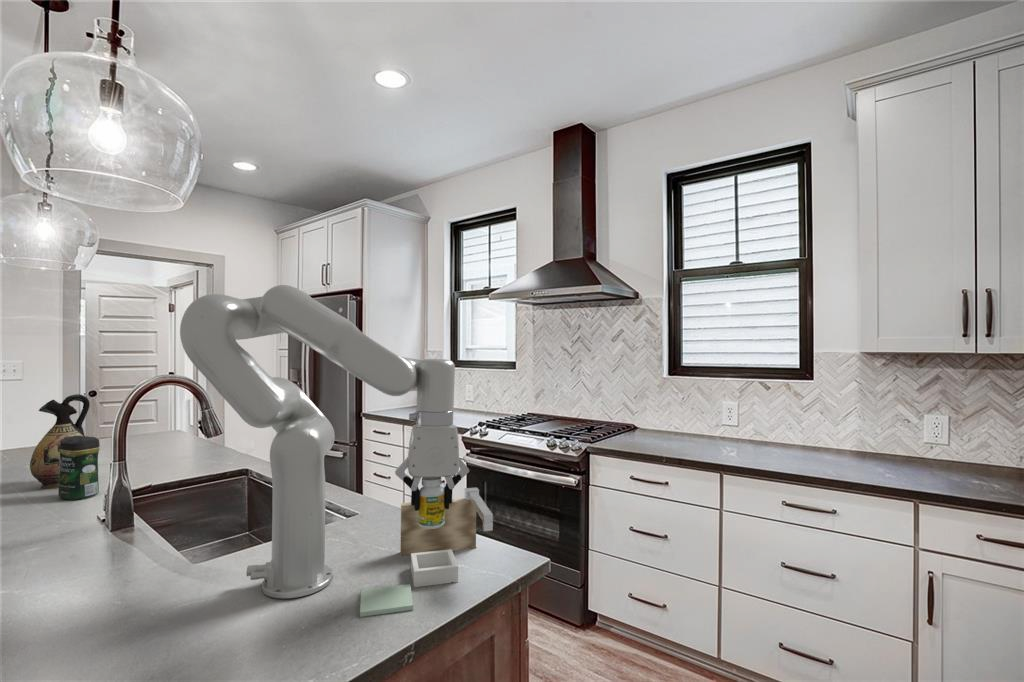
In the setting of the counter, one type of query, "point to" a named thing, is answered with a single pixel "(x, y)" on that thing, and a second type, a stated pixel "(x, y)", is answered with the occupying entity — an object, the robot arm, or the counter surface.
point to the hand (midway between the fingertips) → (431, 507)
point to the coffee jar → (78, 467)
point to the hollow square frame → (433, 568)
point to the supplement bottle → (431, 503)
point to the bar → (480, 507)
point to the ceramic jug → (56, 440)
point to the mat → (386, 600)
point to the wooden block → (439, 529)
